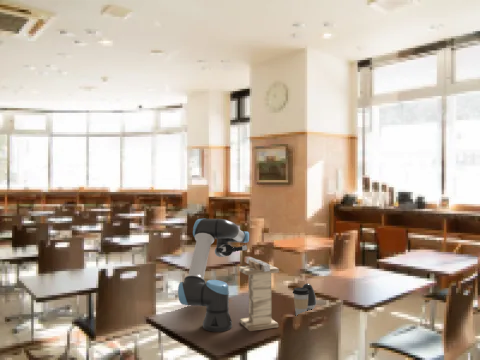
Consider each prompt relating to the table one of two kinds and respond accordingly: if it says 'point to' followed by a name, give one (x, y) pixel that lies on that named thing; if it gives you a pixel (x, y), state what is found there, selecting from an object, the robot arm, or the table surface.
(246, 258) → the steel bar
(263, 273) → the birch stand
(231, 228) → the robot arm
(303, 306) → the coffee cup
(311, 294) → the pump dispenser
